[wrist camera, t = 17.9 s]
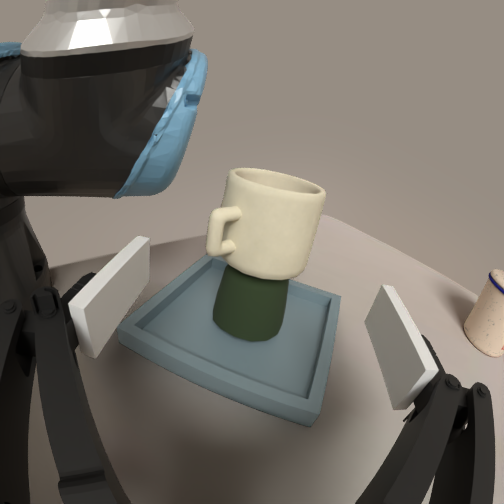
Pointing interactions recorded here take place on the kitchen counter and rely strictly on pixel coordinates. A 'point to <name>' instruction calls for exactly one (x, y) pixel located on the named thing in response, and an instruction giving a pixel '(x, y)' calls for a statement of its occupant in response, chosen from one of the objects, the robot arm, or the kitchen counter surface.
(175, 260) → the kitchen counter surface
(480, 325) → the teacup with lid
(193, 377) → the tray
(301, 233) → the character mug
